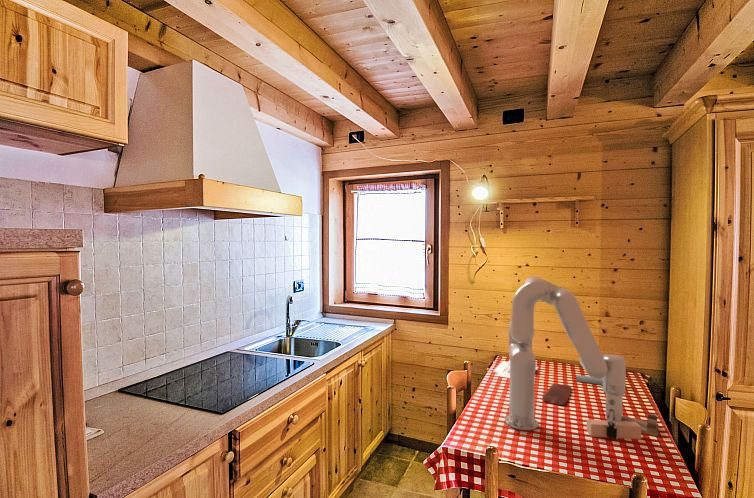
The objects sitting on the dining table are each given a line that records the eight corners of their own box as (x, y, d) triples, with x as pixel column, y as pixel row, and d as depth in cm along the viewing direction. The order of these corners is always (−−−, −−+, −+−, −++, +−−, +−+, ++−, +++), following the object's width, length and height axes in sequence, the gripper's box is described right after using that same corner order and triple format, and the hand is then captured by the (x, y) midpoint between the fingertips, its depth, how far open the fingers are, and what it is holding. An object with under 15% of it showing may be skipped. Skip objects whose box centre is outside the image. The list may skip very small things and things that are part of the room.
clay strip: (641, 439, 149) (641, 426, 149) (590, 437, 151) (591, 424, 151) (635, 434, 153) (635, 421, 153) (586, 431, 155) (586, 419, 155)
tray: (489, 376, 218) (490, 369, 218) (503, 362, 241) (503, 356, 241) (528, 383, 207) (528, 376, 207) (538, 368, 231) (538, 362, 230)
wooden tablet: (564, 407, 177) (564, 403, 177) (541, 401, 182) (541, 398, 182) (573, 388, 199) (573, 384, 199) (552, 383, 204) (552, 380, 204)
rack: (657, 436, 151) (658, 425, 150) (609, 424, 160) (609, 413, 160) (658, 426, 159) (658, 415, 158) (612, 415, 168) (612, 405, 168)
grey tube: (624, 386, 202) (624, 380, 202) (627, 391, 196) (627, 384, 196) (575, 380, 211) (575, 374, 211) (576, 384, 205) (576, 378, 205)
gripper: (623, 397, 142) (622, 445, 142) (627, 383, 156) (626, 427, 156) (599, 392, 146) (598, 439, 147) (605, 379, 160) (604, 422, 161)
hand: (612, 432), depth 152 cm, fingers open, 7 cm apart
